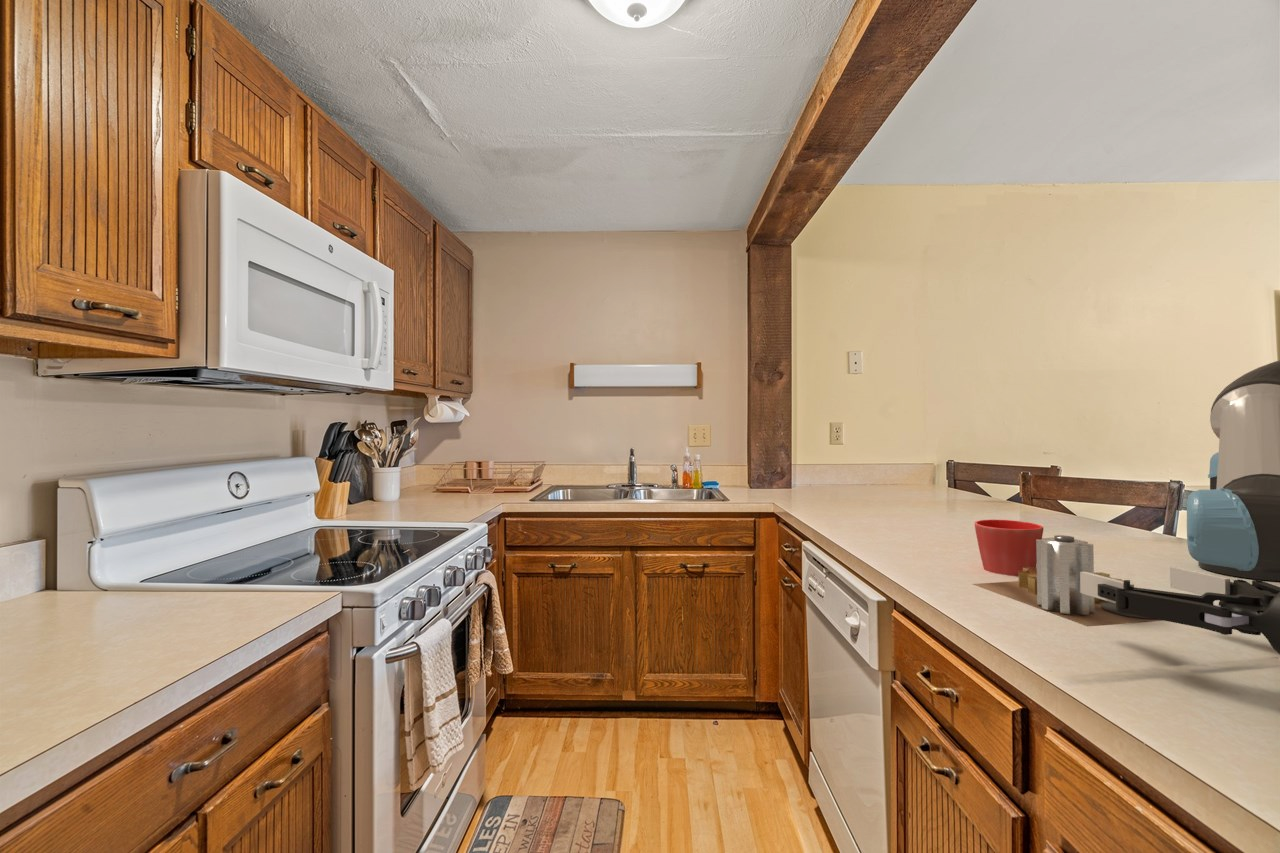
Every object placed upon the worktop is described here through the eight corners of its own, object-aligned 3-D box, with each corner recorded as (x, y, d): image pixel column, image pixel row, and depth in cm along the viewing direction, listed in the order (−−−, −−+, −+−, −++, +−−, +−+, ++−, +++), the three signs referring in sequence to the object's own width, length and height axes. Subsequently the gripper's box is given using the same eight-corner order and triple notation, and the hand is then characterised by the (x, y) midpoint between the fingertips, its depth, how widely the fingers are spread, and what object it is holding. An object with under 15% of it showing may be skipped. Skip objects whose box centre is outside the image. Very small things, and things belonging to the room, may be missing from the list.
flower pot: (1049, 586, 104) (1048, 530, 104) (977, 579, 108) (976, 526, 108) (1038, 572, 113) (1038, 521, 113) (973, 567, 118) (972, 518, 118)
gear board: (1069, 583, 105) (1069, 576, 105) (1206, 624, 83) (1206, 614, 83) (972, 589, 102) (972, 582, 102) (1087, 633, 80) (1087, 623, 80)
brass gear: (1070, 578, 105) (1069, 558, 105) (1146, 600, 91) (1146, 577, 91) (999, 582, 103) (999, 562, 103) (1067, 605, 89) (1067, 582, 89)
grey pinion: (1065, 600, 92) (1064, 531, 92) (1106, 614, 85) (1105, 540, 85) (1026, 603, 91) (1025, 533, 91) (1064, 617, 84) (1063, 542, 84)
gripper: (1233, 683, 55) (1044, 613, 76) (1444, 664, 59) (1209, 603, 80) (1231, 602, 55) (1043, 555, 76) (1443, 588, 59) (1208, 547, 80)
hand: (1127, 579), depth 78 cm, fingers open, 13 cm apart
